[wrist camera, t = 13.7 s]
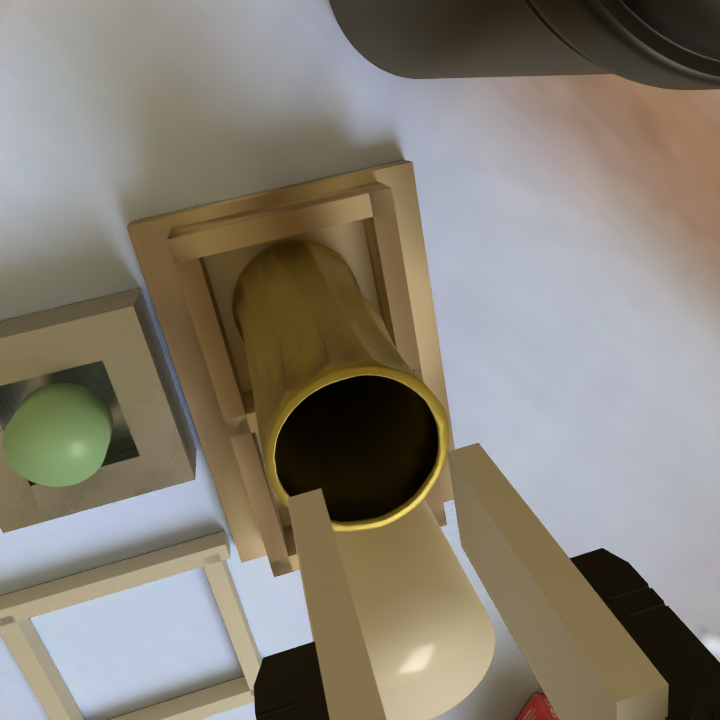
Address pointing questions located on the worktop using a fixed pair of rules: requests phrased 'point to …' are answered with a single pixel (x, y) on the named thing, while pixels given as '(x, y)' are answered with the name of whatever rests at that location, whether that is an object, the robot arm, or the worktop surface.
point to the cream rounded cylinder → (415, 615)
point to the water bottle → (539, 38)
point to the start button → (58, 435)
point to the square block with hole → (113, 384)
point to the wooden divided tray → (227, 349)
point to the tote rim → (209, 552)
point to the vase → (334, 391)
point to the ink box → (538, 709)
